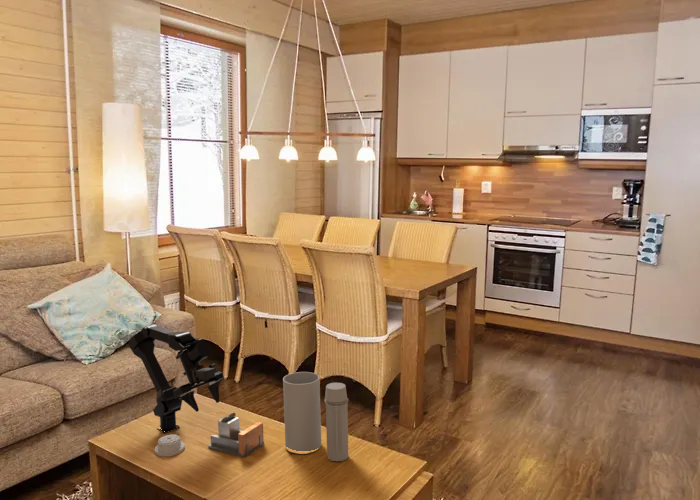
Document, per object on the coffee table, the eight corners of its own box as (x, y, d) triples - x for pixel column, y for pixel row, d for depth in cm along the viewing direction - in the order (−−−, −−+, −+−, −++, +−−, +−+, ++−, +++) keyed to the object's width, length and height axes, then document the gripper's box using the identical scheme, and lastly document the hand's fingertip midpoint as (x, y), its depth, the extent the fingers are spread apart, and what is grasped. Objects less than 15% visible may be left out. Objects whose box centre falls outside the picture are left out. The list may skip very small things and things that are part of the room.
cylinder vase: (328, 443, 198) (326, 375, 195) (307, 458, 187) (305, 386, 184) (299, 436, 204) (297, 369, 201) (278, 450, 194) (275, 380, 191)
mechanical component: (149, 456, 192) (175, 458, 190) (148, 443, 192) (175, 446, 190) (164, 442, 202) (189, 445, 200) (163, 431, 201) (189, 433, 199)
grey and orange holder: (208, 448, 196) (207, 426, 196) (229, 435, 206) (228, 414, 205) (244, 457, 189) (243, 435, 188) (264, 444, 198) (263, 422, 198)
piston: (218, 443, 197) (217, 417, 196) (229, 436, 203) (228, 411, 201) (229, 445, 195) (228, 420, 194) (240, 438, 200) (239, 413, 199)
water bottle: (326, 452, 191) (324, 382, 188) (349, 452, 191) (347, 381, 188) (325, 466, 182) (323, 392, 179) (349, 465, 182) (348, 391, 179)
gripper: (182, 365, 189) (199, 409, 186) (224, 351, 204) (241, 391, 201) (165, 376, 195) (181, 418, 192) (207, 361, 210) (223, 400, 208)
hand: (208, 406), depth 198 cm, fingers open, 9 cm apart
